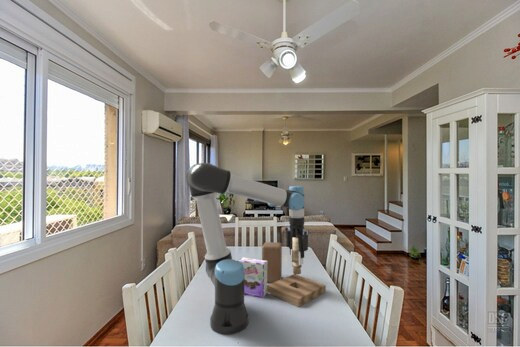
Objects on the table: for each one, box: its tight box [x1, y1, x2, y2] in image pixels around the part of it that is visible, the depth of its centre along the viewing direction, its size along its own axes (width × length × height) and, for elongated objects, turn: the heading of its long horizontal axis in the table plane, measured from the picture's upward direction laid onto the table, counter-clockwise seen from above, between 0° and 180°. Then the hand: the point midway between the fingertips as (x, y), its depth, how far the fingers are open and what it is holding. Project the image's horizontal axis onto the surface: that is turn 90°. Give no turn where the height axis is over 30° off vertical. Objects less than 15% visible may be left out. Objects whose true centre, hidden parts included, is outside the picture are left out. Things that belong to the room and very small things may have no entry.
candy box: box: [238, 256, 268, 299], centre depth 130 cm, size 14×6×16 cm, turn 68°
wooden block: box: [261, 241, 283, 284], centre depth 146 cm, size 10×10×20 cm
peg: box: [292, 236, 303, 275], centre depth 131 cm, size 5×5×18 cm
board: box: [267, 273, 326, 308], centre depth 131 cm, size 22×20×4 cm
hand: (296, 262), depth 131 cm, fingers closed on peg, 4 cm apart
